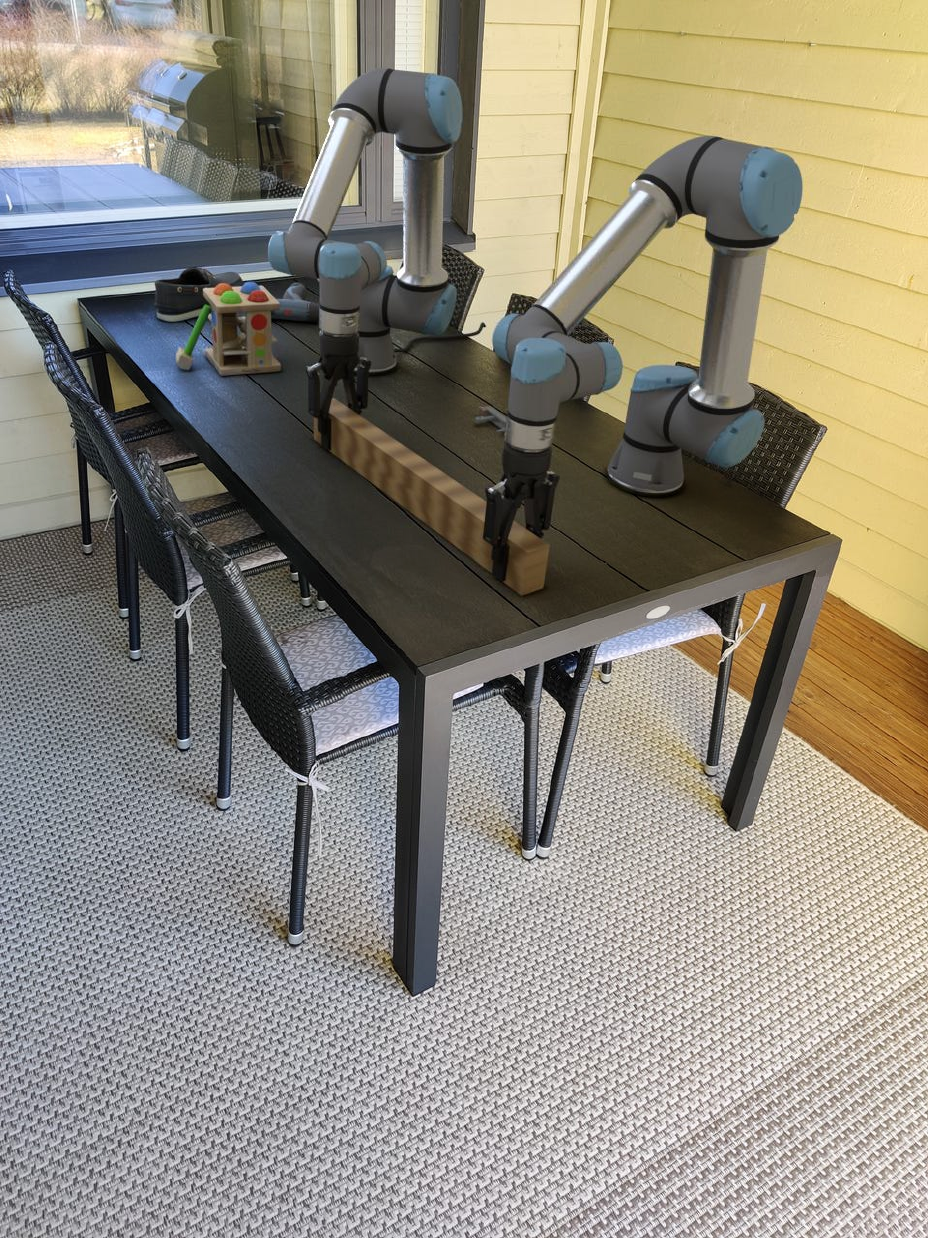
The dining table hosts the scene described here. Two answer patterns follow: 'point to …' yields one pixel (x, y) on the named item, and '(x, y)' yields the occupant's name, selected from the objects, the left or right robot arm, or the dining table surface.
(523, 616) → the dining table surface
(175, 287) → the boat shoe
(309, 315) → the power drill
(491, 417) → the clamp
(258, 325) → the pounding bench toy
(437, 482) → the beam
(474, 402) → the dining table surface
